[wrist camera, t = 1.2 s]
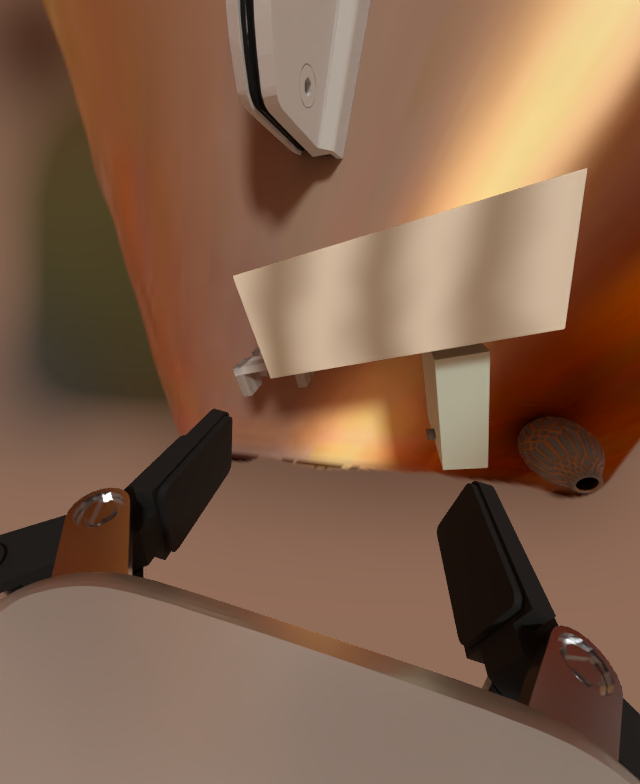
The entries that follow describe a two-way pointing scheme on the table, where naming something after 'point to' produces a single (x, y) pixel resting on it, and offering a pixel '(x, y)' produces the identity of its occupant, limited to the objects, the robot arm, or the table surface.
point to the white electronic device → (298, 67)
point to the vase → (562, 453)
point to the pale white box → (458, 404)
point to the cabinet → (418, 285)
